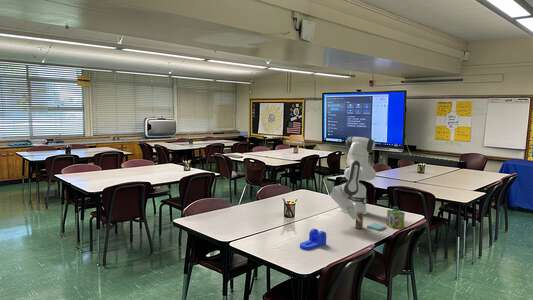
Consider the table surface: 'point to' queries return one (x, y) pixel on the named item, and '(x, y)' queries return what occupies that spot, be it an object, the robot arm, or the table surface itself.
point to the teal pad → (376, 226)
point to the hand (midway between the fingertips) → (360, 219)
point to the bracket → (314, 240)
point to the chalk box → (395, 218)
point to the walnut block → (360, 224)
